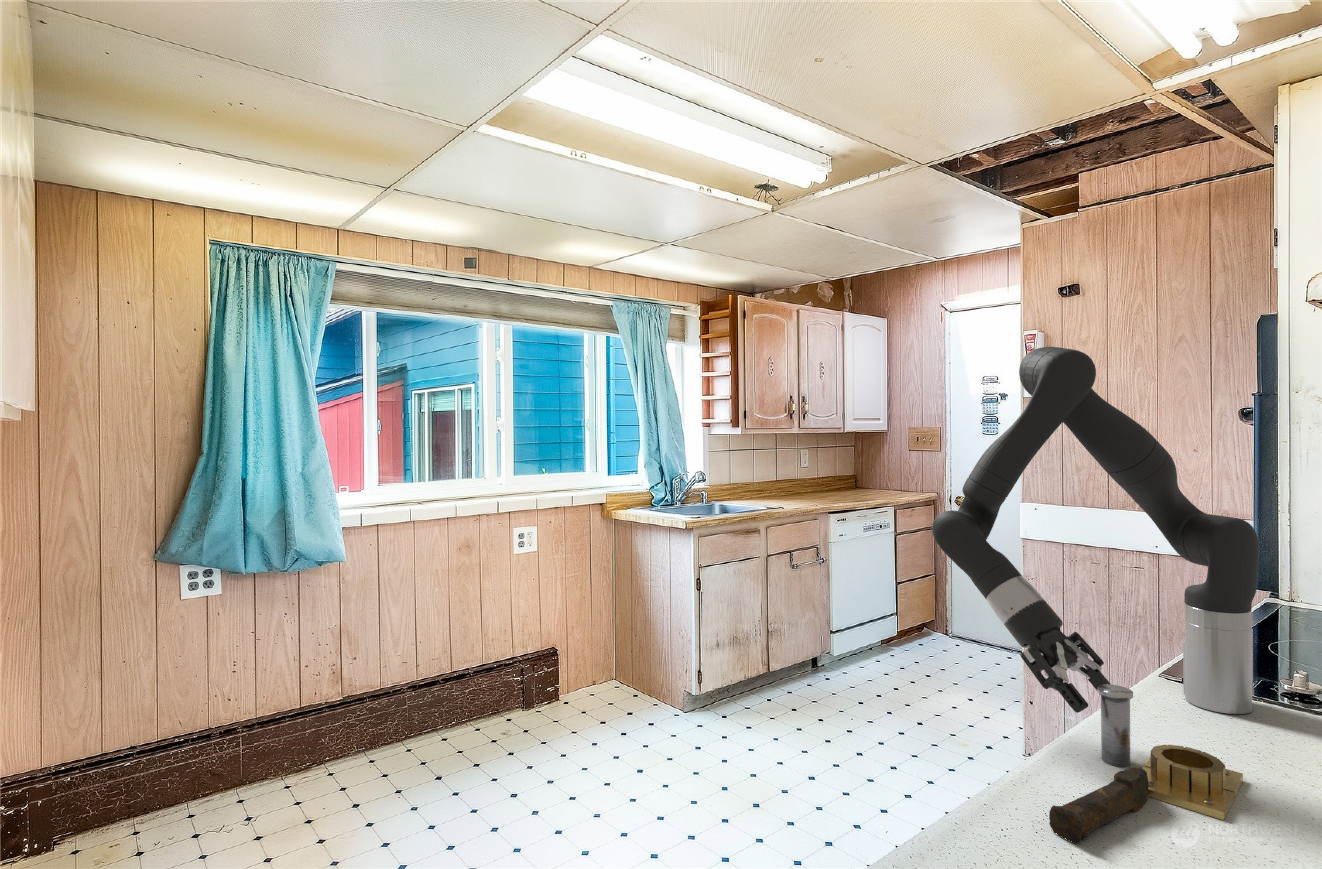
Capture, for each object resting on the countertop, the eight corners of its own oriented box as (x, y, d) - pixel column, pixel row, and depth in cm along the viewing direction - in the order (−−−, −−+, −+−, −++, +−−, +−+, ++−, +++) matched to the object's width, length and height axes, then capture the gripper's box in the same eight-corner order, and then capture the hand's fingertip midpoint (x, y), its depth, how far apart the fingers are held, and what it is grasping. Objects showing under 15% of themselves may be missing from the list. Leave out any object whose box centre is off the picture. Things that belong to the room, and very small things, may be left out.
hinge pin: (1092, 753, 105) (1092, 683, 105) (1124, 754, 105) (1123, 684, 105) (1107, 767, 101) (1106, 694, 101) (1140, 769, 100) (1139, 695, 100)
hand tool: (1079, 850, 82) (1079, 811, 82) (1047, 832, 86) (1047, 795, 86) (1170, 809, 91) (1170, 773, 91) (1137, 794, 94) (1137, 760, 94)
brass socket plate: (1156, 756, 104) (1156, 731, 104) (1243, 780, 97) (1242, 753, 97) (1130, 790, 95) (1130, 762, 95) (1223, 820, 87) (1223, 790, 87)
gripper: (1013, 604, 108) (1092, 702, 99) (1062, 592, 116) (1140, 681, 106) (982, 630, 113) (1054, 726, 103) (1031, 616, 121) (1103, 704, 111)
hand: (1098, 703), depth 105 cm, fingers open, 8 cm apart
